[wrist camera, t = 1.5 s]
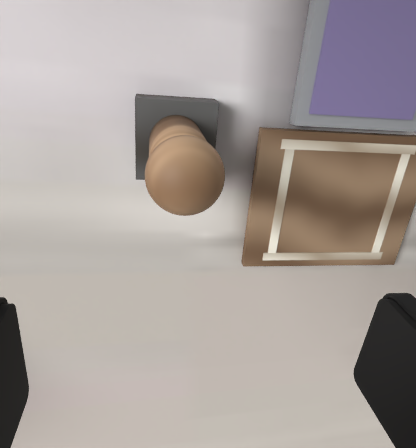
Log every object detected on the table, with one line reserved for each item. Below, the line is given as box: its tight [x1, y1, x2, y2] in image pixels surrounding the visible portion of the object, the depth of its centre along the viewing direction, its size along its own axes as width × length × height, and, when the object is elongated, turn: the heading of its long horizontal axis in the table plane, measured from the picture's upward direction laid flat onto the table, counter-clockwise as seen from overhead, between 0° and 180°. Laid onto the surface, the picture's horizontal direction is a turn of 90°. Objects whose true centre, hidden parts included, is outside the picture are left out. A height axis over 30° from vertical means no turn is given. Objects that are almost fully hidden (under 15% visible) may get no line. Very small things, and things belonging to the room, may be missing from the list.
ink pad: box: [289, 0, 416, 132], centre depth 28 cm, size 11×11×2 cm
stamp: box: [135, 94, 225, 216], centre depth 24 cm, size 6×6×13 cm
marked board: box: [242, 127, 416, 266], centre depth 34 cm, size 13×16×1 cm
